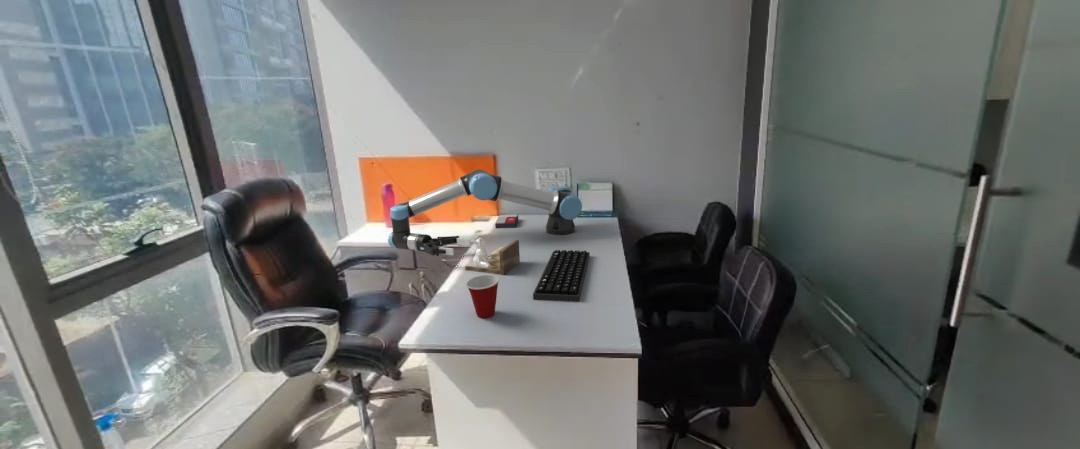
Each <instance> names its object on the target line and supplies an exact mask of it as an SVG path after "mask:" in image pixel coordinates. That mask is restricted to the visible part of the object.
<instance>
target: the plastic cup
mask: <svg viewBox="0 0 1080 449" xmlns="http://www.w3.org/2000/svg"><path fill="white" fill-rule="evenodd" d="M499 281H500V278H499V276H498V275H496V274H481V275H476V276H474V277H471V278H470V279H468V280H467V281H466V282H465V287H466V288H467V289H468V291H469V294H470V297H471V301H472V303H473V307H474V310H475V314H476V316H477V317H478V318H480V319H488V318H492V317H493V316H494V315H495V312H496V305H497V297H498V288H499V286H498V285H499Z"/></svg>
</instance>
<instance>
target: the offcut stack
mask: <svg viewBox="0 0 1080 449" xmlns="http://www.w3.org/2000/svg"><path fill="white" fill-rule="evenodd" d="M504 247H505V246H500V247H499V248H496V250H493V251H492V252H491V253H490V256H491V259H492V260H491V264H490V265H491V267H490V269H498V270H500V257H499V251H500V250H501V249H503V248H504Z"/></svg>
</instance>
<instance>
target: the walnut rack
mask: <svg viewBox="0 0 1080 449" xmlns="http://www.w3.org/2000/svg"><path fill="white" fill-rule="evenodd" d="M503 247H504V248H503V249H501V250H500V251H499V257H500V270H498V269H491V267H490V268H481V267H477V266H472V265H465V267H464V270H465V271H471V272H479V273H486V274H487V273H488V274H493V275H500V276H505V275H506V274H508V273H509V272H510V271H511V270H512V269H514V268H515V267H516V266H517V265H519V264H520V262H521V259H520V258H521V257H520V240H519V239H515V240H512V241H511V242H510V243H509V244H506V246H503ZM488 257H491V255H488Z"/></svg>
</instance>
